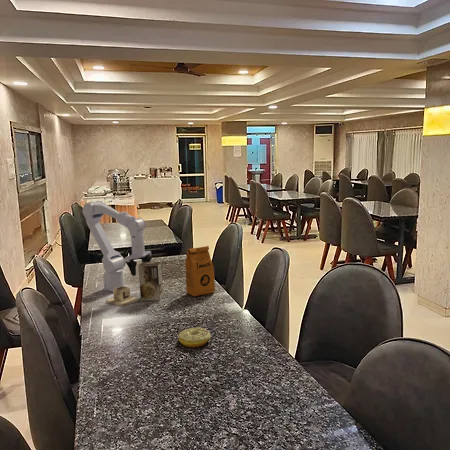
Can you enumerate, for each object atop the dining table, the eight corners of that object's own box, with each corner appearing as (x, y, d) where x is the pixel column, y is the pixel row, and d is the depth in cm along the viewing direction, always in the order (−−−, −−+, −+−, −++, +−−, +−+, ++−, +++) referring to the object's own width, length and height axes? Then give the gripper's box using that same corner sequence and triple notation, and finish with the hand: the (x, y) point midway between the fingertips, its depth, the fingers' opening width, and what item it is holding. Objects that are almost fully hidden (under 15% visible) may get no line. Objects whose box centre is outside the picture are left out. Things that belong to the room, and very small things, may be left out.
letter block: (114, 299, 180) (113, 288, 179) (122, 296, 184) (121, 285, 183) (122, 301, 177) (121, 290, 176) (130, 298, 181) (129, 287, 180)
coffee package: (217, 294, 187) (216, 247, 183) (192, 299, 181) (190, 250, 177) (208, 288, 195) (206, 243, 192) (184, 292, 190) (182, 246, 186)
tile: (105, 302, 180) (105, 300, 180) (121, 296, 187) (121, 294, 187) (123, 306, 174) (123, 304, 174) (138, 300, 181) (138, 298, 181)
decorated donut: (216, 341, 140) (216, 330, 139) (193, 352, 132) (192, 341, 131) (196, 332, 147) (195, 322, 146) (172, 342, 139) (172, 332, 139)
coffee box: (163, 296, 186) (161, 261, 184) (160, 300, 180) (158, 265, 177) (144, 295, 187) (142, 261, 185) (140, 300, 181) (137, 265, 178)
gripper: (132, 248, 180) (134, 278, 182) (155, 242, 192) (156, 270, 194) (121, 247, 184) (123, 276, 186) (144, 241, 196) (146, 268, 198)
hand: (139, 273), depth 190 cm, fingers open, 7 cm apart
